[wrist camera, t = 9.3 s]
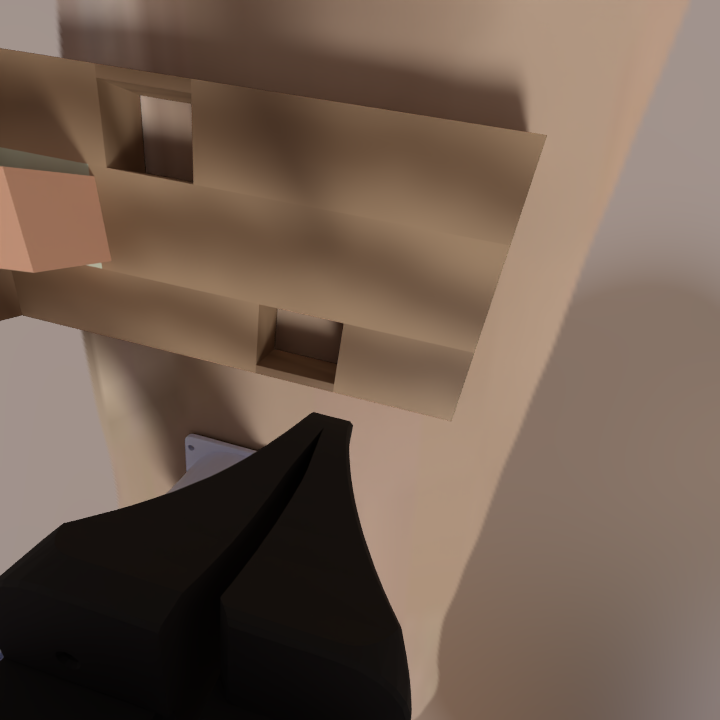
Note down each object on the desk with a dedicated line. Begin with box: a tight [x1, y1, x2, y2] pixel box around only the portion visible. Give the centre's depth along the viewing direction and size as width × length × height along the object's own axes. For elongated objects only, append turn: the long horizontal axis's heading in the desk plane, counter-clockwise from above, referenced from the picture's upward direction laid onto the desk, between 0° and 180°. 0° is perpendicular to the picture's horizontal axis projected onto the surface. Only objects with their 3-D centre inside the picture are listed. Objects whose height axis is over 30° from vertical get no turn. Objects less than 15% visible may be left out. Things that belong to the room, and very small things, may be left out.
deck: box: [0, 48, 547, 421], centre depth 17 cm, size 13×27×6 cm, turn 80°
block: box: [0, 166, 111, 273], centre depth 16 cm, size 4×4×4 cm
